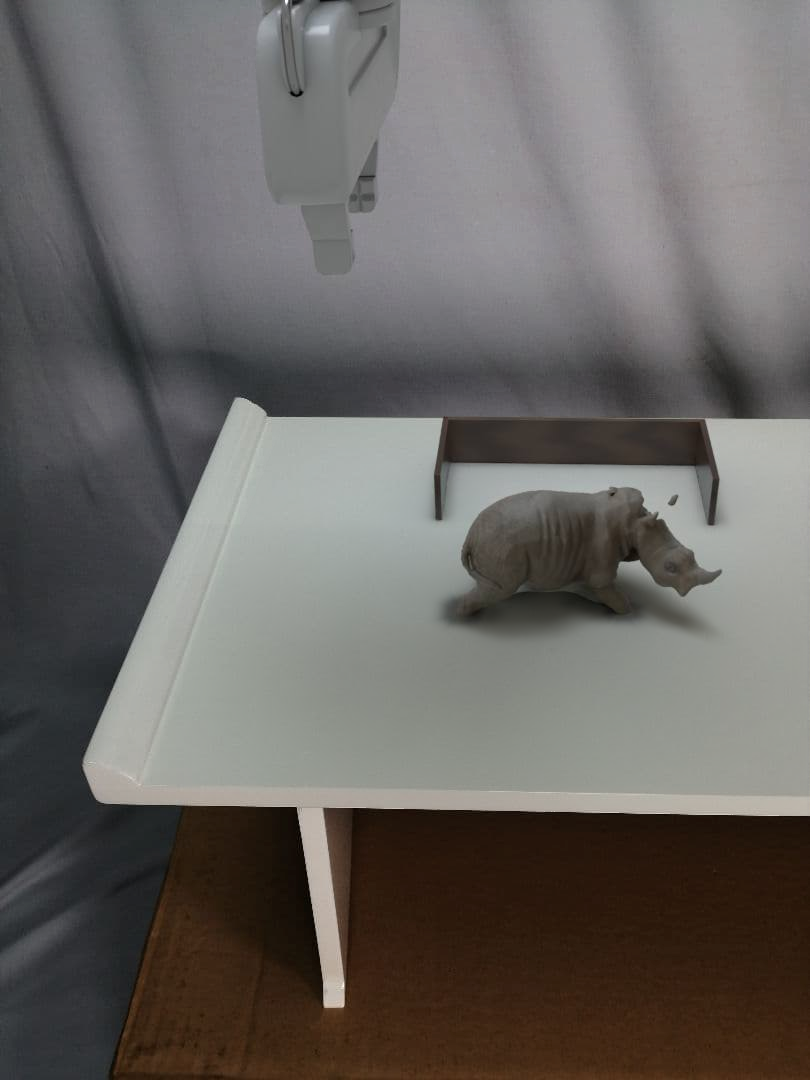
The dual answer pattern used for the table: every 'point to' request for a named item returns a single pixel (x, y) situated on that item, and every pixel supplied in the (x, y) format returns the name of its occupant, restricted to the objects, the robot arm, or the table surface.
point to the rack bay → (578, 446)
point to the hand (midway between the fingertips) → (349, 237)
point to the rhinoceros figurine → (572, 548)
